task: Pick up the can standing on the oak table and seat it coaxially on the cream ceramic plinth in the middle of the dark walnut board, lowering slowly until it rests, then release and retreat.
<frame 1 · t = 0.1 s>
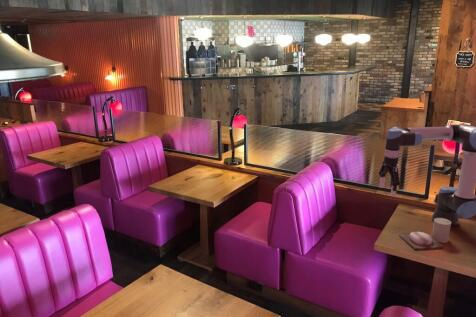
hand: (387, 191, 230), 28 cm above the table, fingers open, 13 cm apart
can: (439, 239, 234), on the table
stand: (420, 241, 230), on the table
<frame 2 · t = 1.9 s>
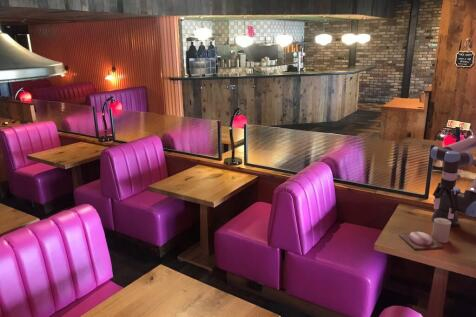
hand: (443, 213, 229), 16 cm above the table, fingers open, 13 cm apart
nothing on the table moved.
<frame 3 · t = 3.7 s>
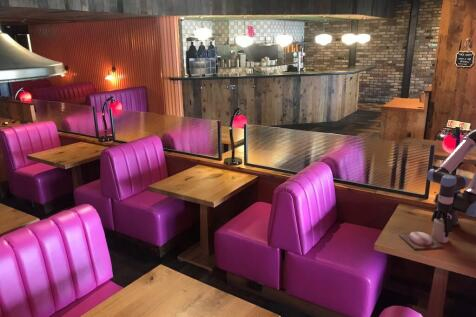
hand: (439, 237, 233), 1 cm above the table, fingers closed on can, 9 cm apart
can: (439, 239, 234), on the table, touching gripper
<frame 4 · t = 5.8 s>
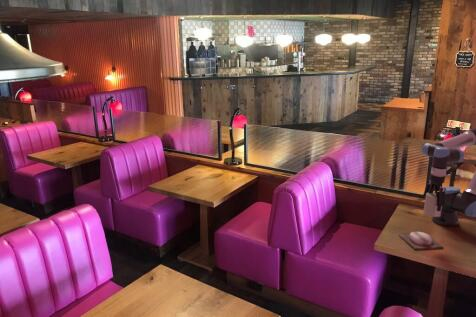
hand: (431, 212, 226), 18 cm above the table, fingers closed on can, 9 cm apart
can: (431, 214, 226), point 17 cm above the table, touching gripper
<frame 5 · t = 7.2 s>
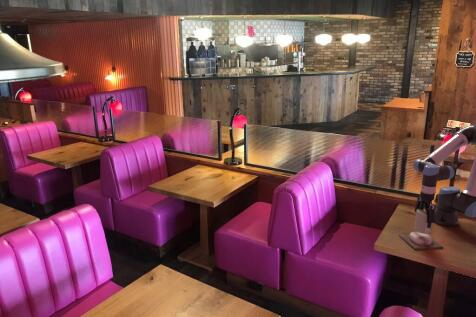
hand: (422, 228, 228), 8 cm above the table, fingers closed on can, 9 cm apart
can: (422, 230, 228), point 7 cm above the table, touching gripper
when the fingers open (6 cm above the table, at t = 8.1 s): can drops 1 cm, resting on stand.
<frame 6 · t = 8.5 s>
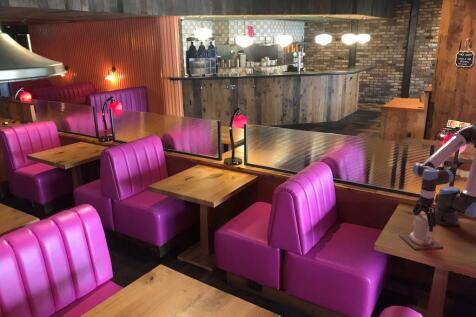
hand: (422, 230, 228), 7 cm above the table, fingers open, 13 cm apart
can: (421, 236, 229), point 3 cm above the table, touching stand
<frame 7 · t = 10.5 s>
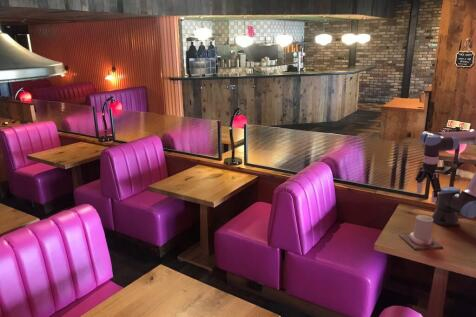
hand: (426, 197, 229), 25 cm above the table, fingers open, 13 cm apart
nothing on the table moved.
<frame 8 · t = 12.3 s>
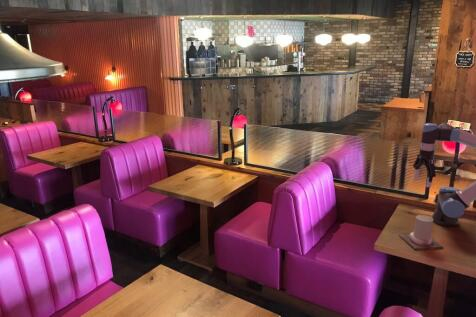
hand: (422, 183, 242), 29 cm above the table, fingers open, 13 cm apart
nothing on the table moved.
at the end: can 0.4 cm from the stand (horizontally); can point 3.3 cm above the table; can tilted 0° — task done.
